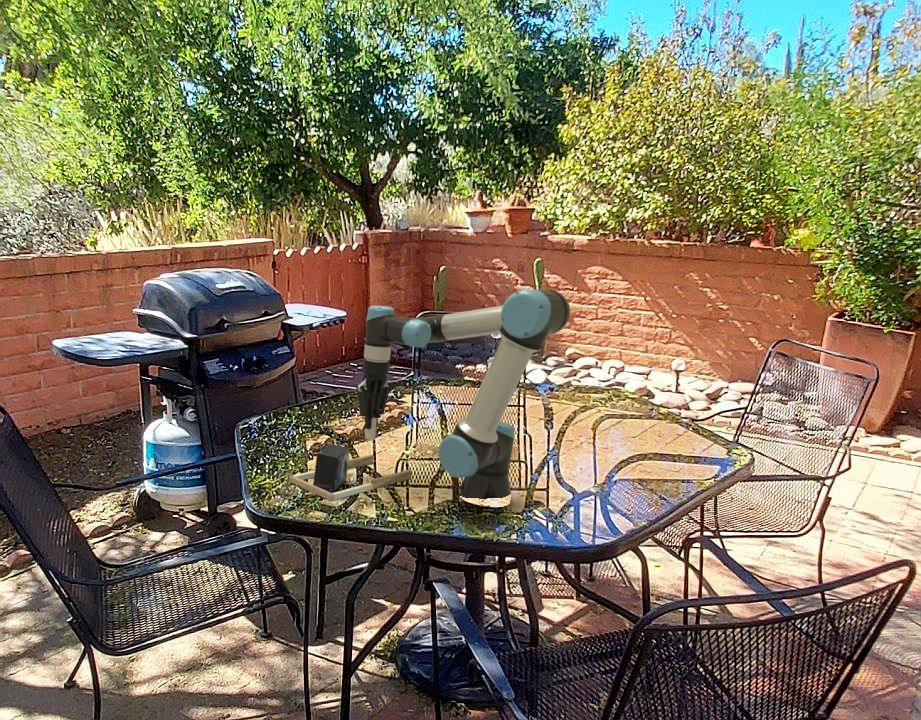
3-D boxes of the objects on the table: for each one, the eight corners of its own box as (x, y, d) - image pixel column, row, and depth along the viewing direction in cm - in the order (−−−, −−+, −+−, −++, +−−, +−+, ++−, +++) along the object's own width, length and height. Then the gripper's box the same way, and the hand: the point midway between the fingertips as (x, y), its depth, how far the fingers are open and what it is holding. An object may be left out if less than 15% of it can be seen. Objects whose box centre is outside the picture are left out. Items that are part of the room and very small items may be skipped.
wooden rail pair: (411, 478, 223) (411, 470, 223) (373, 489, 211) (374, 480, 210) (370, 462, 234) (370, 454, 233) (331, 471, 221) (332, 463, 221)
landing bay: (372, 489, 211) (373, 484, 210) (330, 500, 198) (331, 495, 198) (330, 471, 221) (331, 466, 221) (289, 481, 209) (289, 476, 208)
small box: (334, 493, 204) (337, 457, 202) (311, 489, 205) (315, 452, 203) (347, 481, 214) (351, 446, 212) (326, 477, 215) (329, 443, 214)
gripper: (383, 356, 221) (376, 432, 225) (350, 358, 211) (344, 439, 215) (401, 360, 217) (394, 438, 220) (369, 363, 206) (362, 445, 210)
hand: (369, 439), depth 218 cm, fingers closed
